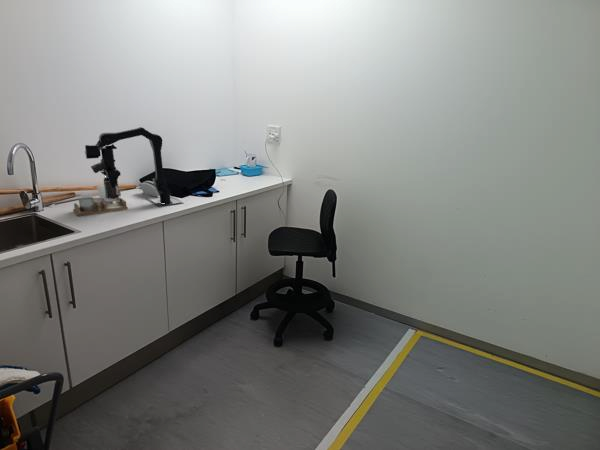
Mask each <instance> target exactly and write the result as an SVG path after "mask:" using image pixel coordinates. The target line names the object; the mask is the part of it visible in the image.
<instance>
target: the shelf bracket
mask: <svg viewBox="0 0 600 450" xmlns="http://www.w3.org/2000/svg"><path fill="white" fill-rule="evenodd" d="M96 188H97V192H98V196H99V198H102V199H103V200H104V201H103V202H105V203H106V202H115V203H117V204H118V203H120V199H119V198H120V197H121V196H122V195H121V194H122V193H121V189H119V188H118V189H119V197H118V198H116V199H108V198H106V196H105V188H104V185H98V186H97V187H96Z"/></svg>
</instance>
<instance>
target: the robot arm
mask: <svg viewBox="0 0 600 450" xmlns="http://www.w3.org/2000/svg"><path fill="white" fill-rule="evenodd" d="M140 136H142V137H144V138H146V139H147V140H148V142H149V144H150V148H151V151H152V154H153V162H154V172H155V177H154V178H152V182H153V185H154V186H155V188H156V189H157V190H159V192H160V198H159V201H160V202H161V203H165V204H164V205H167V204H166V203H171V204H174V202H173V201H171V194H172V190H171V188H169V187H168V184H167V180H166V179H165V175H164V168H163V157H162V147H163V138H162V137H161V136H160V135H158V134H156V133H152V132H150V131H148V130H147V129H146V128H144V127H142V126H141V127H140V126H139V127H137V128H131V129H128V130H123V131H117V132H102V133H100V134H99V136H98V141H97V143H96V144H95V145H94V144H93V145H89V144H88V145H87V144H85V145H84V148H85V150H84V153H85V157H86V159H88V160H89V159H99V157H101V159H100V162H98V163H96V164H95V163H94V164H93V165H91V166H90V168H91V170H92V172H93V173H95V174H97V173H99V172H100V173H101V174H102V175H104V177H105V176H107V177H108V178H109V179H110V183H111V186H112V188H114V187H115V184H116V182H117V180H118V179H119V177H120V176H121V171H120V170H118V169H117V167H116V159H115V156H114V155H115V154H114V150H116V149H117V146H115V143H117V142H118V141H121V140H127V139H130V138H135V137H140Z"/></svg>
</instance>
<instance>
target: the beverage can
mask: <svg viewBox="0 0 600 450" xmlns="http://www.w3.org/2000/svg"><path fill="white" fill-rule="evenodd" d="M103 186H104V188H105V196H106V198H108V199H116V198H118V197H119V198H120V196H119V181H118V179H117V182H116V184H115V187H114V188H112V186H111V183H110V179H109V178H108V177H107V176H105V175H104V179H103Z"/></svg>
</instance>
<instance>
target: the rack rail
mask: <svg viewBox="0 0 600 450" xmlns="http://www.w3.org/2000/svg"><path fill="white" fill-rule="evenodd" d="M119 199H120V203H118V204H117V203H116V202H115V203H109V204H107V203H106V201H103V200H102V199H101V200H99V203H98V202H97V201H96V200H94V197H91V196H90V197H89V196H86V197H85V196H83V197H80V198H79V199H78V201H79V202H78V203H75V202H74V203H73V206H74V207H73V209H72V211H73V213H74V214H75V216H76V217H77V216H78V217H82V216H83V217H84V215H85V216H91V215H99V214H105V213H112V212H118V211H119V212H120V211H125V210H126V211H127V210H129V207H128V206H127V201H126V200H125V199H123V198H122V197H119ZM78 204H79V205H78Z"/></svg>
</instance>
